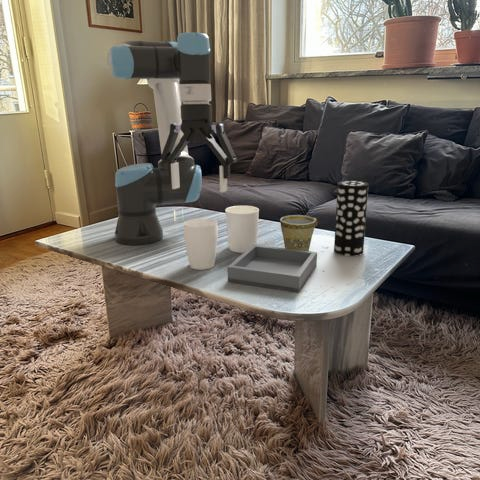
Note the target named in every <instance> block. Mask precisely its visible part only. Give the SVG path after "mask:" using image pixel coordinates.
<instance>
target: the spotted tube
mask: <svg viewBox="0 0 480 480" xmlns="http://www.w3.org/2000/svg"><path fill="white" fill-rule="evenodd" d="M368 196H369V182H365V181H361V180H341V181H338V182H337V191H336V204H335V205H336V207H335V208H336V210H335V223H334V224H335V225H334V226H335V227H334V245H333V252H334V253H335V254H337V255H339V256H344V257H345V256H346V257H357V256H356V255H358V256H361V255H363V254H364V247H365V234H366V220H367V210H368V209H367V208H368ZM362 253H363V254H362ZM360 254H361V255H360Z"/></svg>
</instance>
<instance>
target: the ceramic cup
mask: <svg viewBox="0 0 480 480" xmlns="http://www.w3.org/2000/svg"><path fill="white" fill-rule="evenodd" d="M279 222H280V229H281V233H282V238H283V242H284V243H283V245H284V248H286V249H294V250H303V251H310V246H311V243H312V238H313V235H314V234H313V233H314V231H315V228H316V227H317V224H318V219H317V217H312V216H309V215H302V214H292V215H285V216H281V218H280V219H279Z"/></svg>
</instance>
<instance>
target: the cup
mask: <svg viewBox="0 0 480 480" xmlns="http://www.w3.org/2000/svg"><path fill="white" fill-rule="evenodd" d="M218 236H219V230H218V221H217V220H216V219H212V218H204V217H202V218H201V217H200V218H191V219H188V220H185V221H184V222H183V238H184V243H185V248H186V254H187V258H188V263H189V264H188V265H189V267H190V268H191V269H193V270H198V271H201V270H202V271H203V270H208V269H211V268H213V267H214V266H215V263H216V255H217V248H218V247H217V245H218Z"/></svg>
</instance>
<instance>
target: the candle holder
mask: <svg viewBox="0 0 480 480" xmlns="http://www.w3.org/2000/svg"><path fill="white" fill-rule="evenodd" d="M224 211H225V219H226V231H227V232H226V233H227V235H226V236H227V246H228V250H229V251H231V252H233V253H239V254H243V253H244V252H245V251H246V250H248V249H249V248H250V247H251V246H252V245H258V244H257V243H258V228H259V215H260V214H259V212H260V209H259V208H258V207H256V206H253V205H233V206H228V207H226V208H225V209H224Z"/></svg>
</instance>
